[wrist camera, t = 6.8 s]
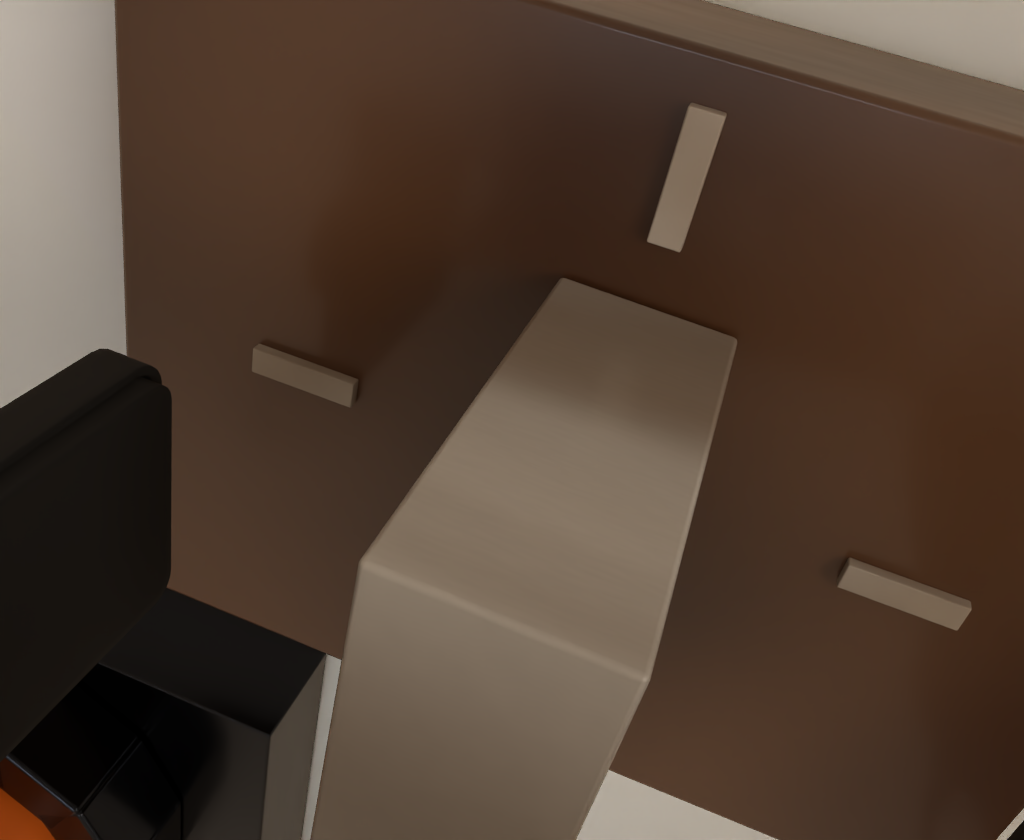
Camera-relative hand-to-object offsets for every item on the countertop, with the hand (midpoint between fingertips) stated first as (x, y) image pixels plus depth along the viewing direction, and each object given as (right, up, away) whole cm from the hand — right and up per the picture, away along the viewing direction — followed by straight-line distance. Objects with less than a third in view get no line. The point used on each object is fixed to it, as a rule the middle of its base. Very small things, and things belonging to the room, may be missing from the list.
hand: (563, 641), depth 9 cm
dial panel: (+1, +3, +4) cm, 5 cm away
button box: (-10, -4, +12) cm, 16 cm away
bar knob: (0, +2, +2) cm, 3 cm away
